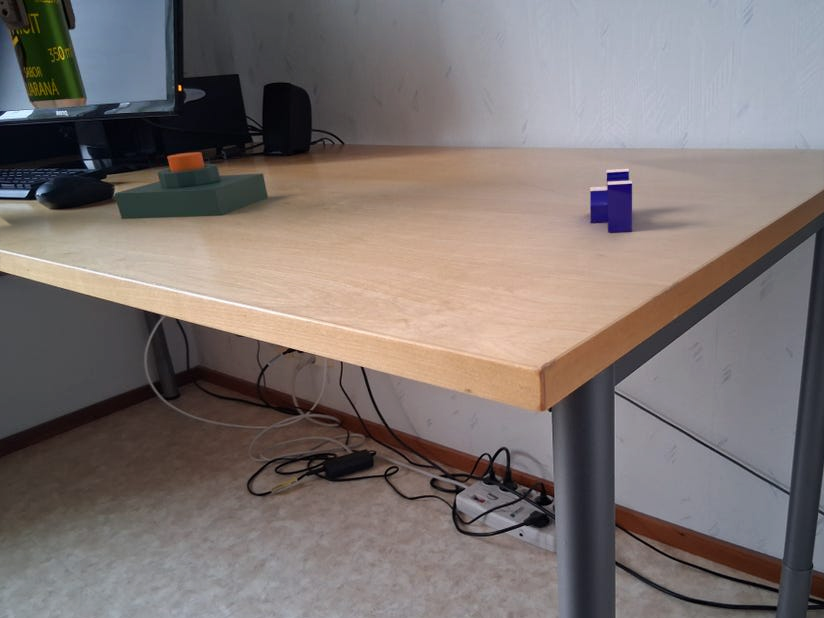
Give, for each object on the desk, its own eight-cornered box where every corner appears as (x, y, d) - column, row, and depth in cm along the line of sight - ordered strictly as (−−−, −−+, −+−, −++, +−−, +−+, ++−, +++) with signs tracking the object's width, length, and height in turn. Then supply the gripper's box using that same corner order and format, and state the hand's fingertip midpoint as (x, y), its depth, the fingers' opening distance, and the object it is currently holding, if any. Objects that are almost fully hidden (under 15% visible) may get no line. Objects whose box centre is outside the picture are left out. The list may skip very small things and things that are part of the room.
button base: (121, 219, 85) (109, 178, 83) (177, 201, 95) (168, 164, 93) (220, 216, 82) (210, 172, 80) (268, 198, 92) (260, 159, 90)
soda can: (53, 107, 77) (18, -16, 72) (99, 104, 76) (66, -20, 71) (19, 110, 72) (-21, -22, 67) (68, 107, 71) (31, -26, 66)
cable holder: (590, 213, 67) (590, 171, 65) (628, 211, 66) (628, 168, 64) (590, 233, 59) (589, 185, 58) (631, 231, 59) (632, 183, 57)
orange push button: (164, 174, 85) (160, 157, 85) (184, 169, 89) (180, 153, 88) (192, 173, 84) (188, 156, 84) (211, 168, 88) (207, 151, 87)
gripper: (16, -148, 71) (66, 33, 78) (-125, -189, 59) (-50, 31, 65) (76, -159, 69) (122, 28, 76) (-57, -204, 57) (13, 25, 64)
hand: (42, 28), depth 71 cm, fingers closed on soda can, 5 cm apart
